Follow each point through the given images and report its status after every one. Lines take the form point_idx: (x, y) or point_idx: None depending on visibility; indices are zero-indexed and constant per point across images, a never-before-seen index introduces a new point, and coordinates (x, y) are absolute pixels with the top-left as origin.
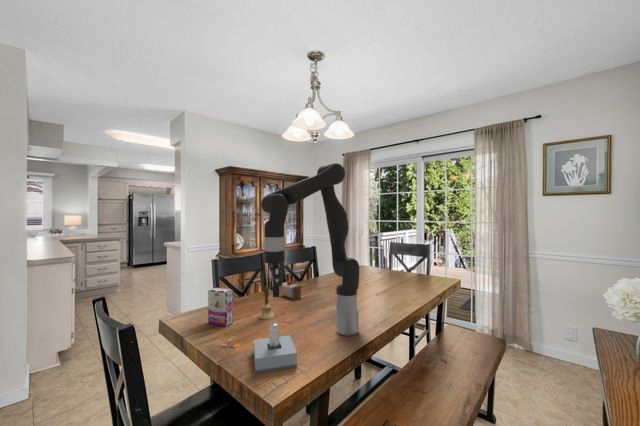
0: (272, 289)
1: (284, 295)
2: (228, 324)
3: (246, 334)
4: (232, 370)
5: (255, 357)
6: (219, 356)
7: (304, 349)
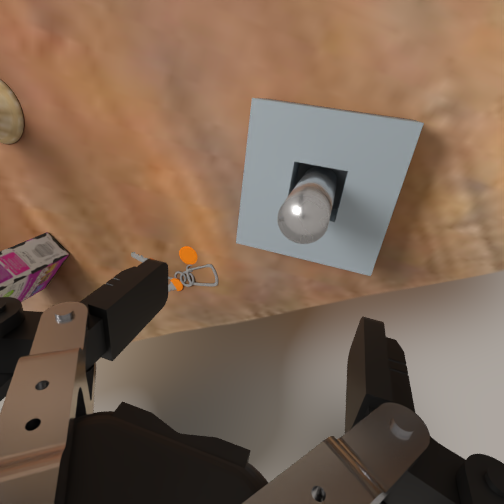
0: (162, 293)
1: None
2: (60, 248)
3: (127, 214)
4: (318, 299)
5: (361, 273)
6: (233, 306)
7: (302, 39)
